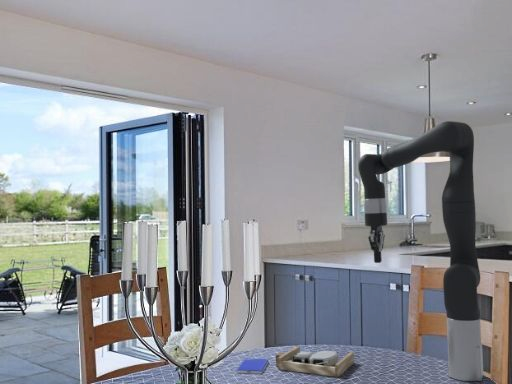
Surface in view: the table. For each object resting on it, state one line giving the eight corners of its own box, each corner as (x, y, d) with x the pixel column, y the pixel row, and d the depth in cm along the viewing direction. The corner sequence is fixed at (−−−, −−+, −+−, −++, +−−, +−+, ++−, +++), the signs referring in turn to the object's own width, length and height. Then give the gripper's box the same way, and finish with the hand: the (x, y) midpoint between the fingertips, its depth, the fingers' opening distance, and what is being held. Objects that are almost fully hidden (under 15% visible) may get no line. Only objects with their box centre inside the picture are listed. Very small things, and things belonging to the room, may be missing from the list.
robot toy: (286, 372, 169) (330, 374, 162) (284, 357, 169) (329, 359, 162) (301, 361, 180) (343, 363, 173) (300, 348, 180) (342, 349, 173)
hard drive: (244, 358, 178) (235, 369, 166) (268, 358, 177) (261, 370, 165) (244, 363, 178) (236, 374, 166) (268, 363, 177) (261, 375, 165)
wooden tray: (354, 362, 173) (353, 352, 173) (338, 376, 160) (338, 365, 160) (291, 355, 184) (291, 345, 184) (272, 368, 170) (271, 357, 170)
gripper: (381, 212, 176) (384, 264, 175) (390, 211, 188) (393, 260, 187) (359, 212, 179) (361, 264, 179) (369, 212, 191) (372, 260, 191)
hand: (378, 262), depth 183 cm, fingers closed
